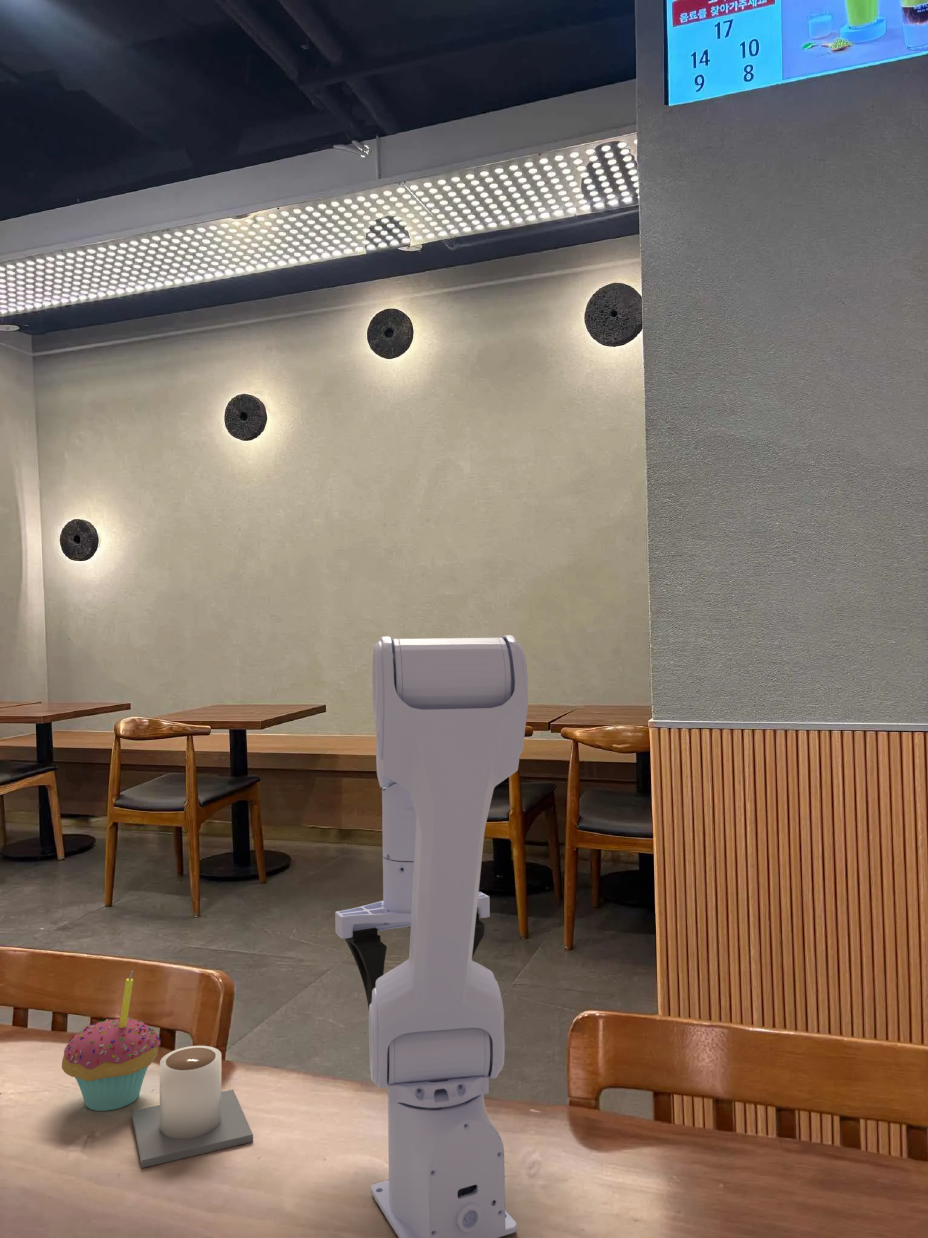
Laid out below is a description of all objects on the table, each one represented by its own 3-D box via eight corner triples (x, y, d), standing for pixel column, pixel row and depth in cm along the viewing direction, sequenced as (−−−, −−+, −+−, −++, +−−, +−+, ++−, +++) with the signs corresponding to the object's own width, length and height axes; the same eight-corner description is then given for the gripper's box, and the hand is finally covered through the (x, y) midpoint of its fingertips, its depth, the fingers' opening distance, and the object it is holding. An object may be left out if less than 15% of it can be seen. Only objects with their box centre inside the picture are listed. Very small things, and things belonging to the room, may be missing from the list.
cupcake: (173, 1080, 88) (173, 956, 89) (133, 1125, 80) (133, 987, 80) (90, 1077, 89) (91, 955, 90) (42, 1121, 81) (43, 985, 81)
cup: (228, 1128, 78) (228, 1063, 78) (166, 1145, 75) (167, 1078, 75) (212, 1101, 82) (212, 1040, 83) (153, 1117, 80) (154, 1054, 80)
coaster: (252, 1141, 77) (252, 1134, 77) (141, 1168, 73) (141, 1160, 73) (233, 1096, 85) (233, 1089, 85) (132, 1117, 81) (132, 1111, 81)
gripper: (466, 840, 89) (468, 979, 89) (325, 855, 83) (326, 1004, 82) (499, 853, 83) (501, 1003, 82) (348, 871, 77) (349, 1033, 76)
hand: (415, 1006), depth 82 cm, fingers open, 7 cm apart
